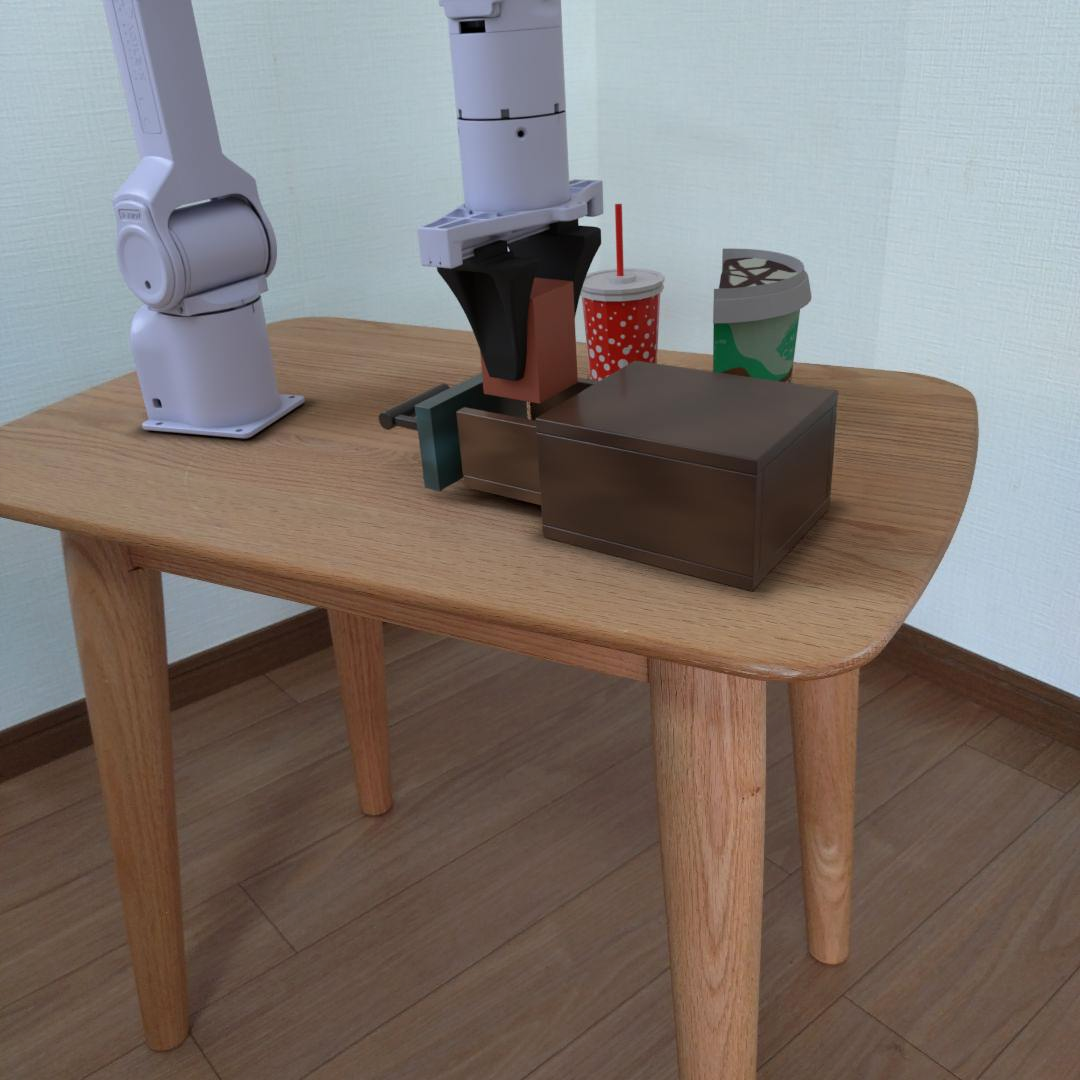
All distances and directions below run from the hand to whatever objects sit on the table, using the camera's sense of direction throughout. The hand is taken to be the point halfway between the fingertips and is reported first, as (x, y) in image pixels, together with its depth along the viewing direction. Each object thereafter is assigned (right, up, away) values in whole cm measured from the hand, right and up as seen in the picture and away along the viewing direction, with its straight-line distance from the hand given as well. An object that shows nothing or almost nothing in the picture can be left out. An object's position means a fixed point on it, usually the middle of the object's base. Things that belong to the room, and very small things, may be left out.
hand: (528, 365), depth 60 cm
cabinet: (+9, -9, -2) cm, 13 cm away
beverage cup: (+7, 0, +16) cm, 18 cm away
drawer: (-1, -6, +4) cm, 7 cm away
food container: (+16, -1, +13) cm, 21 cm away
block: (0, -1, +1) cm, 1 cm away
